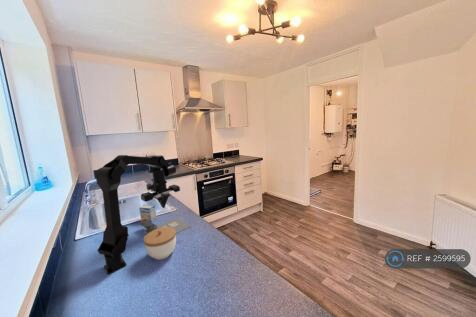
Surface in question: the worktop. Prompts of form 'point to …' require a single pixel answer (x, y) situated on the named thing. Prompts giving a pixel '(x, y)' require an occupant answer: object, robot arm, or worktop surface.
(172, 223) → the chassis plate
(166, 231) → the lidded bowl
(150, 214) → the medicine box
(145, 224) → the cable arm
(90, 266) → the worktop surface
